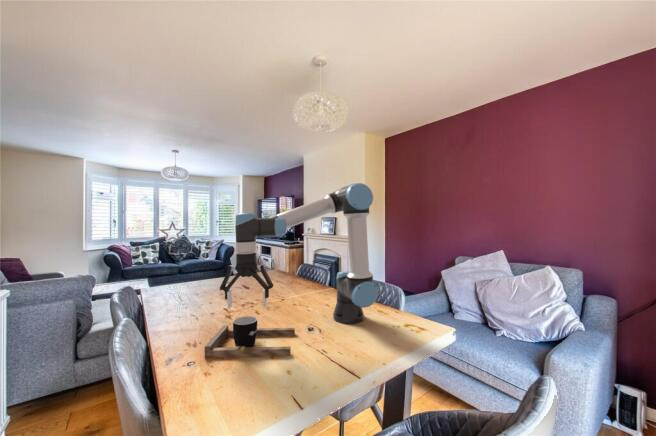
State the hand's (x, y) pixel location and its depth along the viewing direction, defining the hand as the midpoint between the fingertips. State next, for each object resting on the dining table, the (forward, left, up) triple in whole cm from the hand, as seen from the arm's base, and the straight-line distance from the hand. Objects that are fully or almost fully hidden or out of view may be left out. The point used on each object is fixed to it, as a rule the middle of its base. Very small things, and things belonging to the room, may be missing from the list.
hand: (247, 307), depth 105 cm
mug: (0, 0, -15) cm, 15 cm away
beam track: (-3, 0, -15) cm, 15 cm away
